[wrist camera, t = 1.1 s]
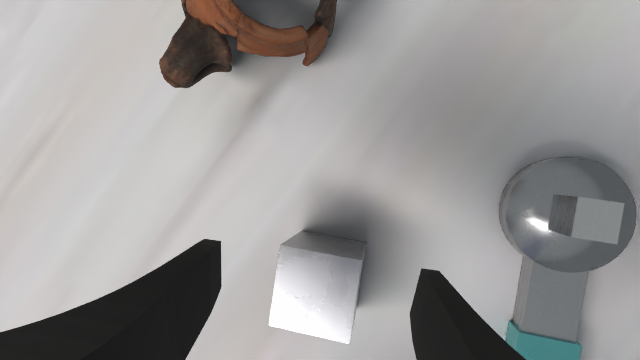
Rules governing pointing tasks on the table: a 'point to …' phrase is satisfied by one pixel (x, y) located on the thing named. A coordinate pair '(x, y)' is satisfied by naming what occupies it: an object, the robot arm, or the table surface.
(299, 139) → the table surface
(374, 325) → the table surface
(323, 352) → the table surface
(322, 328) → the socket
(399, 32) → the table surface
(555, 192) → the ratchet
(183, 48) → the brown openwork dome
